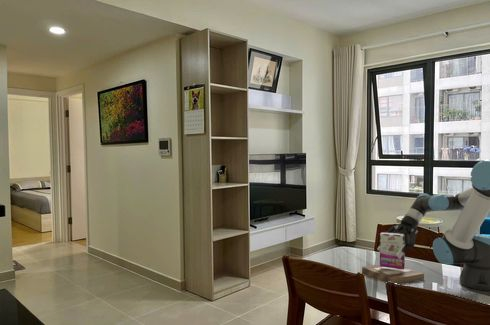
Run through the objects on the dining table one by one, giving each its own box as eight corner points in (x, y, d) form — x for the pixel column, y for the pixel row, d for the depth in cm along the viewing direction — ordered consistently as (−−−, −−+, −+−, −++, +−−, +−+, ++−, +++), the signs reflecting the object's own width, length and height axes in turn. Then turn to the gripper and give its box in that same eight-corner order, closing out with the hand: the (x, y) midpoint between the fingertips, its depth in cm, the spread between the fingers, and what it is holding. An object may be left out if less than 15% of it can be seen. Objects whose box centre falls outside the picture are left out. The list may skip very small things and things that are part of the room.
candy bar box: (405, 267, 179) (405, 233, 178) (404, 269, 174) (404, 235, 174) (380, 263, 184) (381, 231, 184) (379, 266, 180) (379, 233, 179)
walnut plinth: (424, 279, 174) (424, 273, 174) (392, 285, 166) (392, 278, 166) (391, 267, 192) (391, 261, 192) (362, 272, 184) (362, 266, 184)
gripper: (436, 228, 174) (412, 265, 168) (397, 220, 196) (374, 252, 190) (428, 218, 172) (403, 255, 166) (389, 211, 193) (366, 243, 188)
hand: (388, 253), depth 178 cm, fingers closed on candy bar box, 11 cm apart
